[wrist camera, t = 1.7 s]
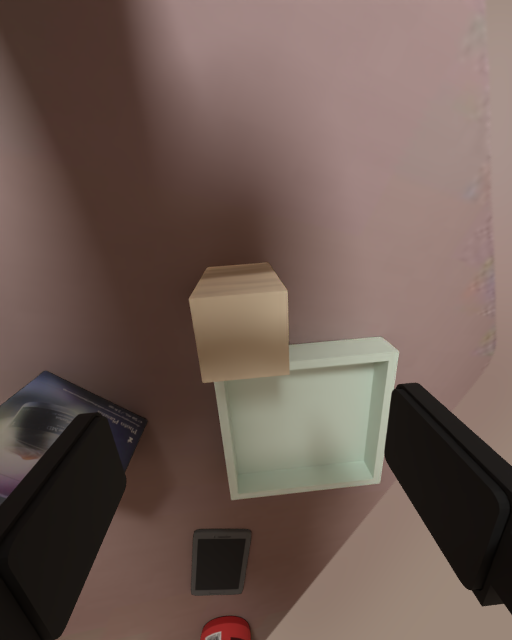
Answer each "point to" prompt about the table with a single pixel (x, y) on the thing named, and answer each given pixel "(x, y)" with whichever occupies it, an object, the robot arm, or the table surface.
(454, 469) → the robot arm
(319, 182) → the table surface
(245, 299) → the block
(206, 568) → the cell phone
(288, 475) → the tray
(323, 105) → the table surface
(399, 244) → the table surface
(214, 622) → the canned food
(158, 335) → the table surface
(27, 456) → the small box
